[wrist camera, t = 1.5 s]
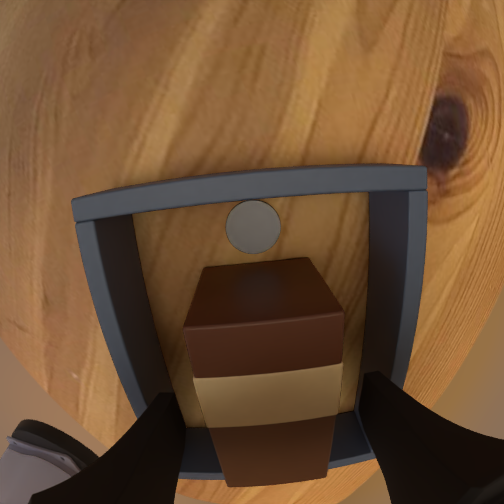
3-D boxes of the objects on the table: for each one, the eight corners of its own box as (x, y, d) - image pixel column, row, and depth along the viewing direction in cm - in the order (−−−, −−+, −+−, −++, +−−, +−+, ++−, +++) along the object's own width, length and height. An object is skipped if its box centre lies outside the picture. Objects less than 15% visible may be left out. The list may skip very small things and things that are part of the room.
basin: (177, 435, 16) (168, 478, 12) (111, 188, 12) (69, 199, 8) (364, 416, 16) (381, 457, 13) (383, 163, 12) (427, 166, 8)
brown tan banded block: (229, 415, 15) (226, 488, 10) (201, 266, 13) (179, 328, 8) (310, 407, 15) (328, 478, 10) (310, 256, 13) (348, 312, 8)
